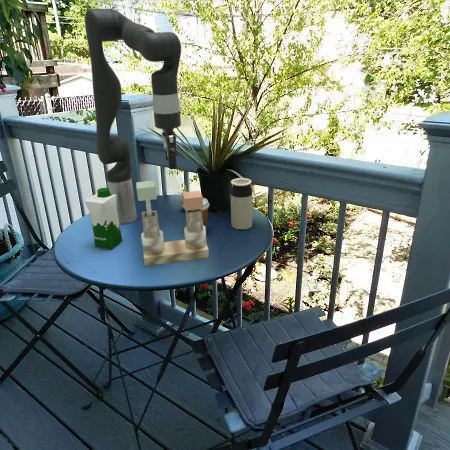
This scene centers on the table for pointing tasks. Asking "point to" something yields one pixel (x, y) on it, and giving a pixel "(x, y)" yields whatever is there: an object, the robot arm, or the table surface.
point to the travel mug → (241, 203)
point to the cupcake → (182, 196)
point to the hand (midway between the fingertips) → (171, 164)
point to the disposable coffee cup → (204, 212)
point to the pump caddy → (174, 250)
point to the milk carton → (104, 219)
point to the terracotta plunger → (192, 200)
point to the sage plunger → (146, 193)
